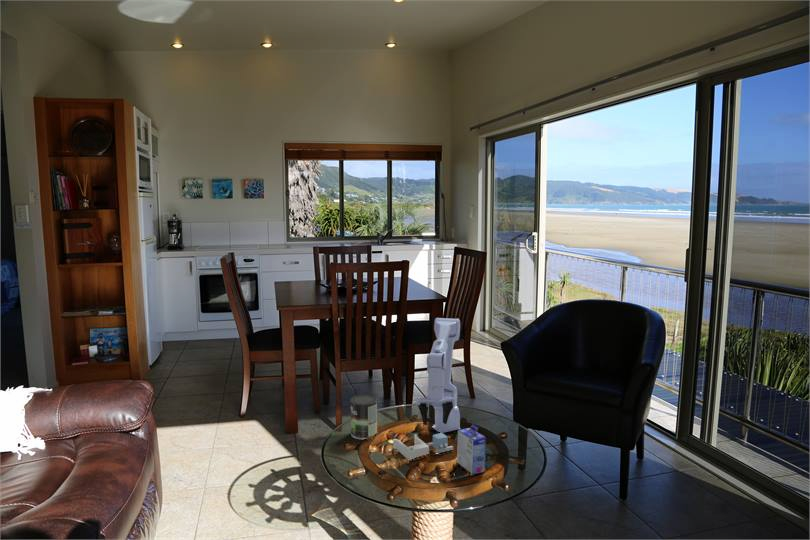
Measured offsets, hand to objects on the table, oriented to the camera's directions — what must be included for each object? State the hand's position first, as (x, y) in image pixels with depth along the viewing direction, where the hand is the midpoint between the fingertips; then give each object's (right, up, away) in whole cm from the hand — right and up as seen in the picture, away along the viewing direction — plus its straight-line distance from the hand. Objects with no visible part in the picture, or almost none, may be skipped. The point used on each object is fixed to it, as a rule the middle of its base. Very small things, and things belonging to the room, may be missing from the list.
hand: (434, 423), depth 207 cm
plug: (+2, -10, +1) cm, 10 cm away
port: (-8, -10, 0) cm, 13 cm away
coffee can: (-27, -9, +16) cm, 32 cm away
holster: (+2, -10, +1) cm, 10 cm away
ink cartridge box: (+12, -12, -11) cm, 20 cm away
